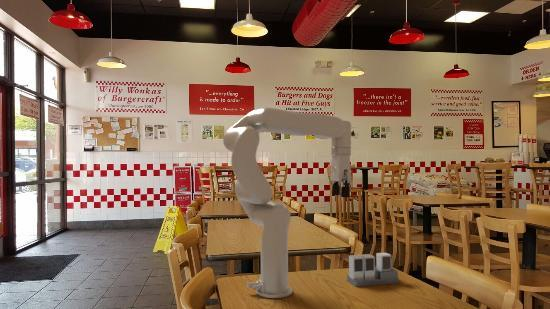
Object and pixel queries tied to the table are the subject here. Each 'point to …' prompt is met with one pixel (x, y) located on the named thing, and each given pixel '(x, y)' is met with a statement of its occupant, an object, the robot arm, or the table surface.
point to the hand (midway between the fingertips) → (340, 196)
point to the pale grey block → (383, 261)
